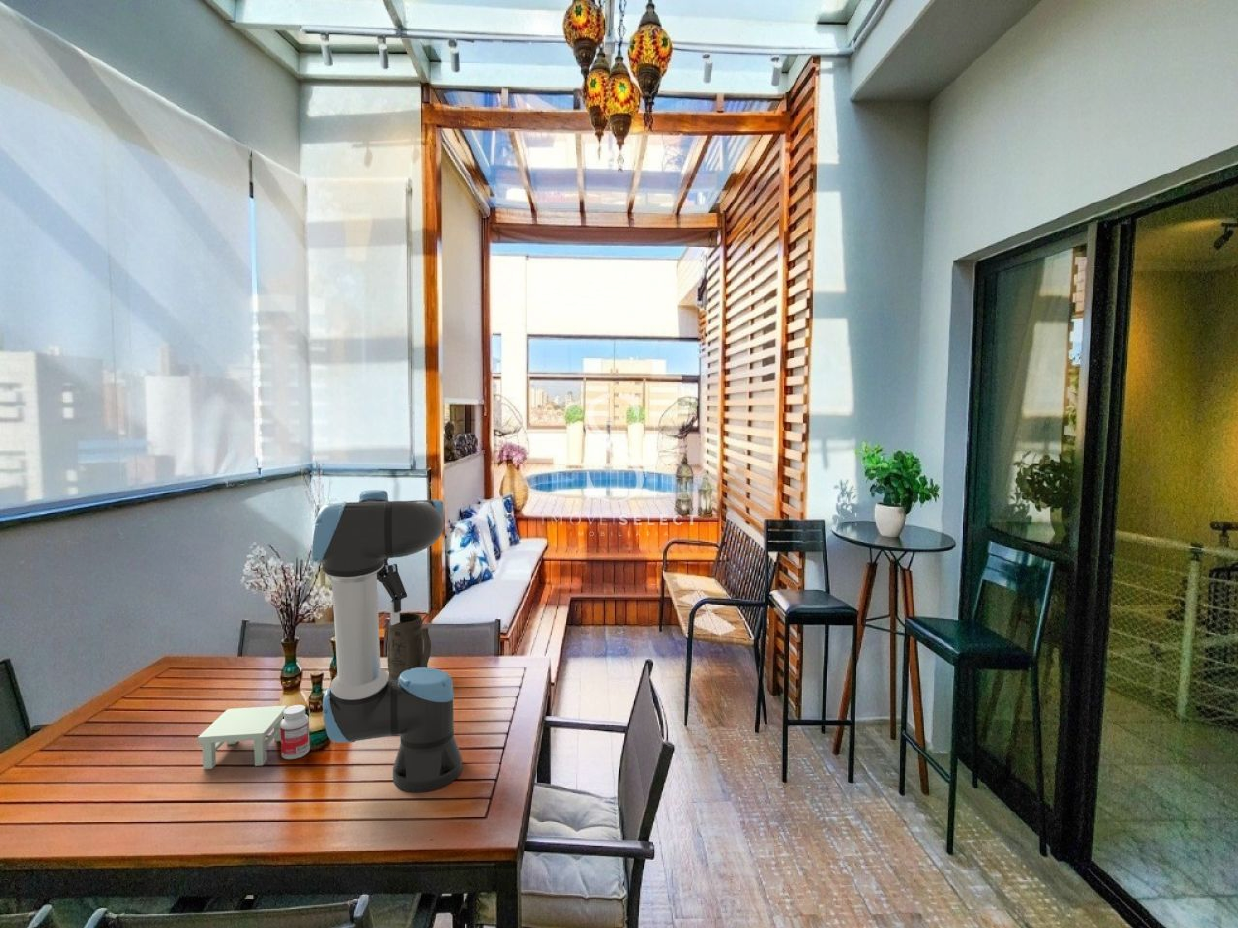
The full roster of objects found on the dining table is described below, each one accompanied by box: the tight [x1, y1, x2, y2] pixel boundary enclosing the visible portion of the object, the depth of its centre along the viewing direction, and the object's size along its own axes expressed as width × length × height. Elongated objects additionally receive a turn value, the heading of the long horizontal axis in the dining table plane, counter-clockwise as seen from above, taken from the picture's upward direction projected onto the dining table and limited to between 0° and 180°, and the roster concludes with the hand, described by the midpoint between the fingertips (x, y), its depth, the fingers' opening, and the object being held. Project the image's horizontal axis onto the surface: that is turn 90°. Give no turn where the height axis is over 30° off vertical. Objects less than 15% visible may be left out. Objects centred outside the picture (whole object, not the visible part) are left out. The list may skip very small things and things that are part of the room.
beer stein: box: [387, 612, 432, 681], centre depth 189 cm, size 15×11×20 cm
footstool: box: [197, 705, 288, 770], centre depth 148 cm, size 14×14×8 cm
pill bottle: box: [280, 704, 311, 760], centre depth 147 cm, size 6×6×11 cm
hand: (376, 620), depth 172 cm, fingers open, 13 cm apart
